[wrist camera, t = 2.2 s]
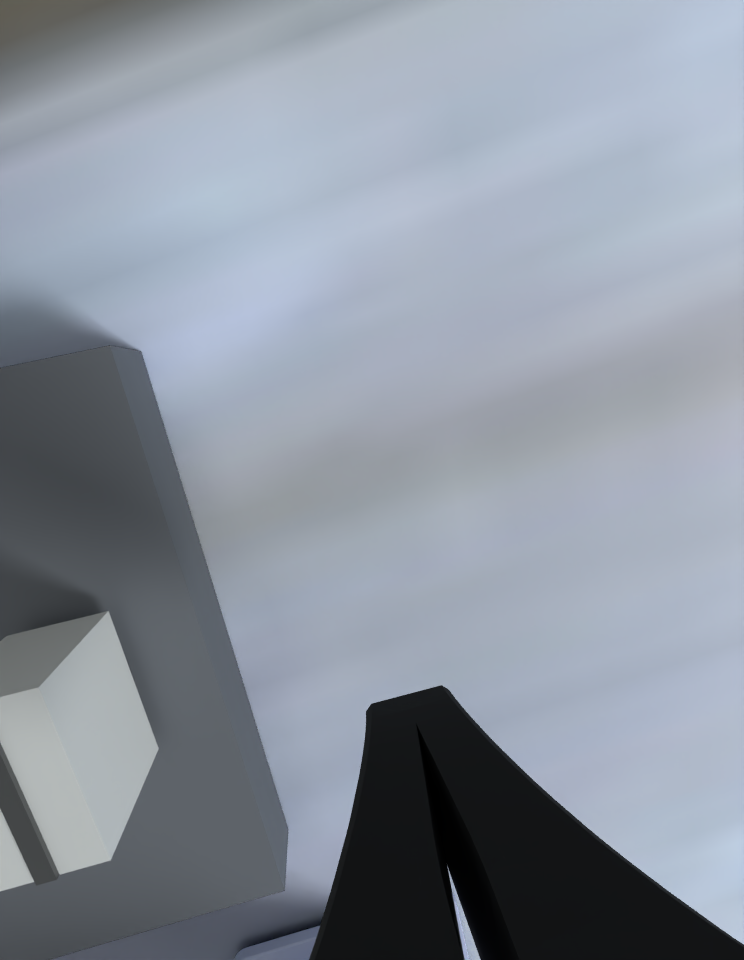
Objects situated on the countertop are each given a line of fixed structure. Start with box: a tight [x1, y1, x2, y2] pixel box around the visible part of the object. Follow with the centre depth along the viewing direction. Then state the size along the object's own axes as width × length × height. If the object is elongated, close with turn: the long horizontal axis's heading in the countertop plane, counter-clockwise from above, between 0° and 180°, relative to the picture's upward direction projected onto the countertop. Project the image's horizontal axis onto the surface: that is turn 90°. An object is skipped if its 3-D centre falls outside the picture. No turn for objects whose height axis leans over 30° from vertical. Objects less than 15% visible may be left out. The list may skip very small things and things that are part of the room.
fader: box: [0, 611, 159, 891], centre depth 10 cm, size 4×2×3 cm, turn 12°
